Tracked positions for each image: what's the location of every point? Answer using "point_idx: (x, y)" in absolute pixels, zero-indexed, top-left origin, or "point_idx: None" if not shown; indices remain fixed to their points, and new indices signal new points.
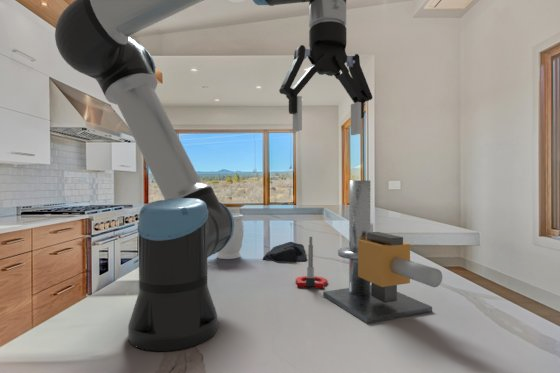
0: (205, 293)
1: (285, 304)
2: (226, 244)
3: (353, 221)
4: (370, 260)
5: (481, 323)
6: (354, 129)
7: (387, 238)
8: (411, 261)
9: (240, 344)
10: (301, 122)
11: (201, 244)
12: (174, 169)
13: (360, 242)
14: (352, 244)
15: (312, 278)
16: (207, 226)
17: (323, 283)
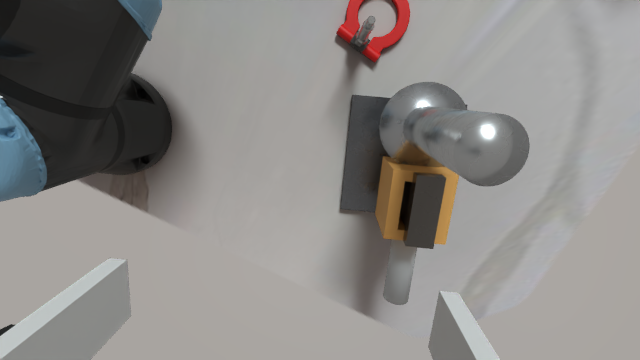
0: (127, 155)
1: (280, 101)
2: None
3: (418, 141)
4: (383, 198)
5: (460, 264)
6: (440, 337)
7: (406, 236)
8: (406, 262)
9: (187, 186)
10: (106, 339)
11: (70, 176)
12: None
13: (391, 176)
14: (406, 132)
15: (359, 48)
16: (60, 156)
17: (377, 59)
